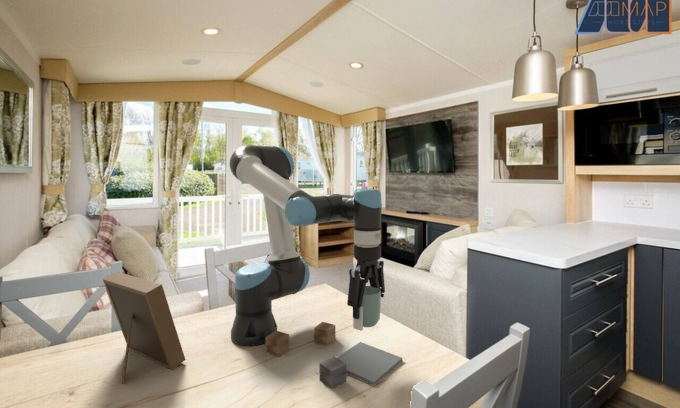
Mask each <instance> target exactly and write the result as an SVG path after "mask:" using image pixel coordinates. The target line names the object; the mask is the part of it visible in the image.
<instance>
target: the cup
mask: <svg viewBox="0 0 680 408" xmlns="http://www.w3.org/2000/svg"><path fill="white" fill-rule="evenodd" d="M381 298H382V297H381V291H380V289H379V288H374V287H371V286H370V285H366V286H365V291H364V295H363V299H362V304H361V306H362V307H363V328H373V327H374V326H377V324H378V322H379V321H380V320H379V317H380V318H381V307H382V304H381V303H382V302H381V301H382V299H381ZM357 303H358V302H357Z"/></svg>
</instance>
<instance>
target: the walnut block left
mask: <svg viewBox="0 0 680 408" xmlns="http://www.w3.org/2000/svg"><path fill="white" fill-rule="evenodd" d="M313 338H314V339H313V340H314V341H313V342H314V344H315V343H316V344H319V345H323V346H326V347H328V346H330V344H332V343H333V342H334V341H336V324H333V323H328V322H325V321H321V322H320V323H319V324H317V325H316V326H314V327H313Z"/></svg>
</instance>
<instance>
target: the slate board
mask: <svg viewBox="0 0 680 408" xmlns="http://www.w3.org/2000/svg"><path fill="white" fill-rule="evenodd" d="M335 357H336V356H335ZM336 358H338V359H339V360H341V361H343V362H344V363H346V375H350V376H351V377H354V378H356V379H358V380H360V381H362V382H365V383H367V384H369V385H371V386H373V387H374V386H376V385H377V384H378V383H379V382H381V380H382V379H383V378H385V377H386V376H387V375H388V374H389V373H390V372H391V371H393V370H395V368H397V366H398V365H400V364H401V363H402V362H403V357H402V356H398V355H396V354H393V353H390V352H388V351H386V350H382V349H381V348H377V347H375V346H372V345H369V344H367V343H365V342H362V341H359V342H358V343H356V344H355V345H353V346H352V347H350V348H349V349H347V350H345V351H343V353H341V354H340V355H338V356H337V357H336Z"/></svg>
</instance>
